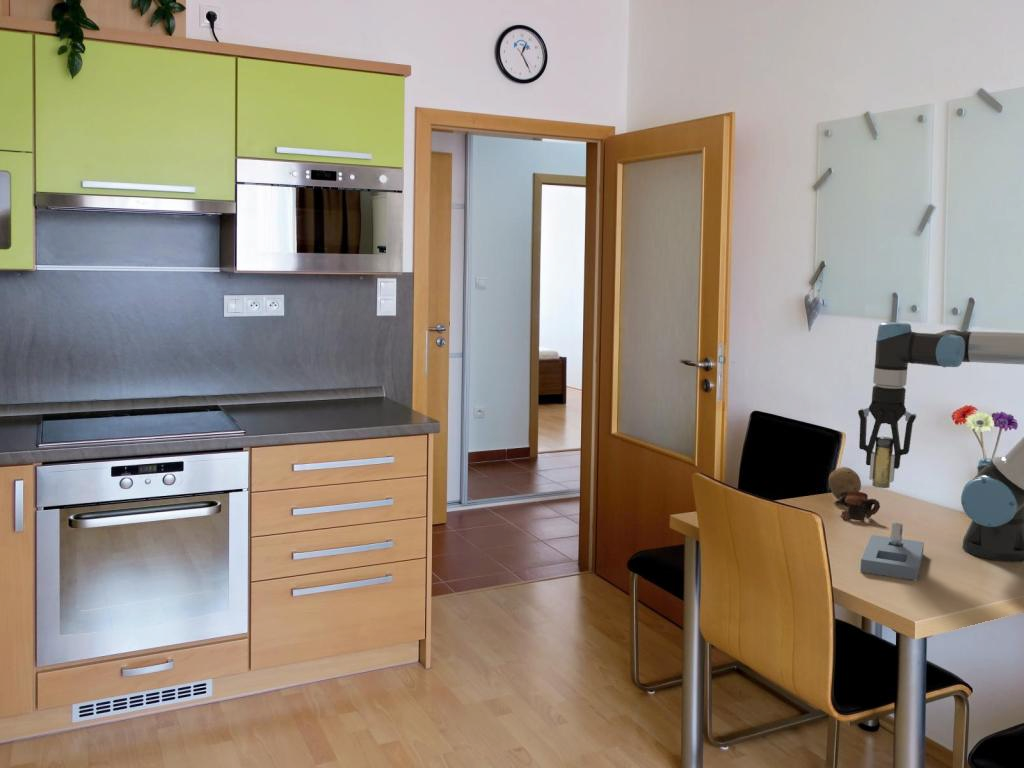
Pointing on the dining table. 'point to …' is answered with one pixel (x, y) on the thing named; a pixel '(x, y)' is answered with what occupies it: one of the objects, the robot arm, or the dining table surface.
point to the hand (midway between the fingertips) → (881, 479)
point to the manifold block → (892, 557)
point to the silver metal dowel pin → (896, 534)
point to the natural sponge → (844, 481)
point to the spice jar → (882, 462)
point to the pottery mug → (857, 505)
